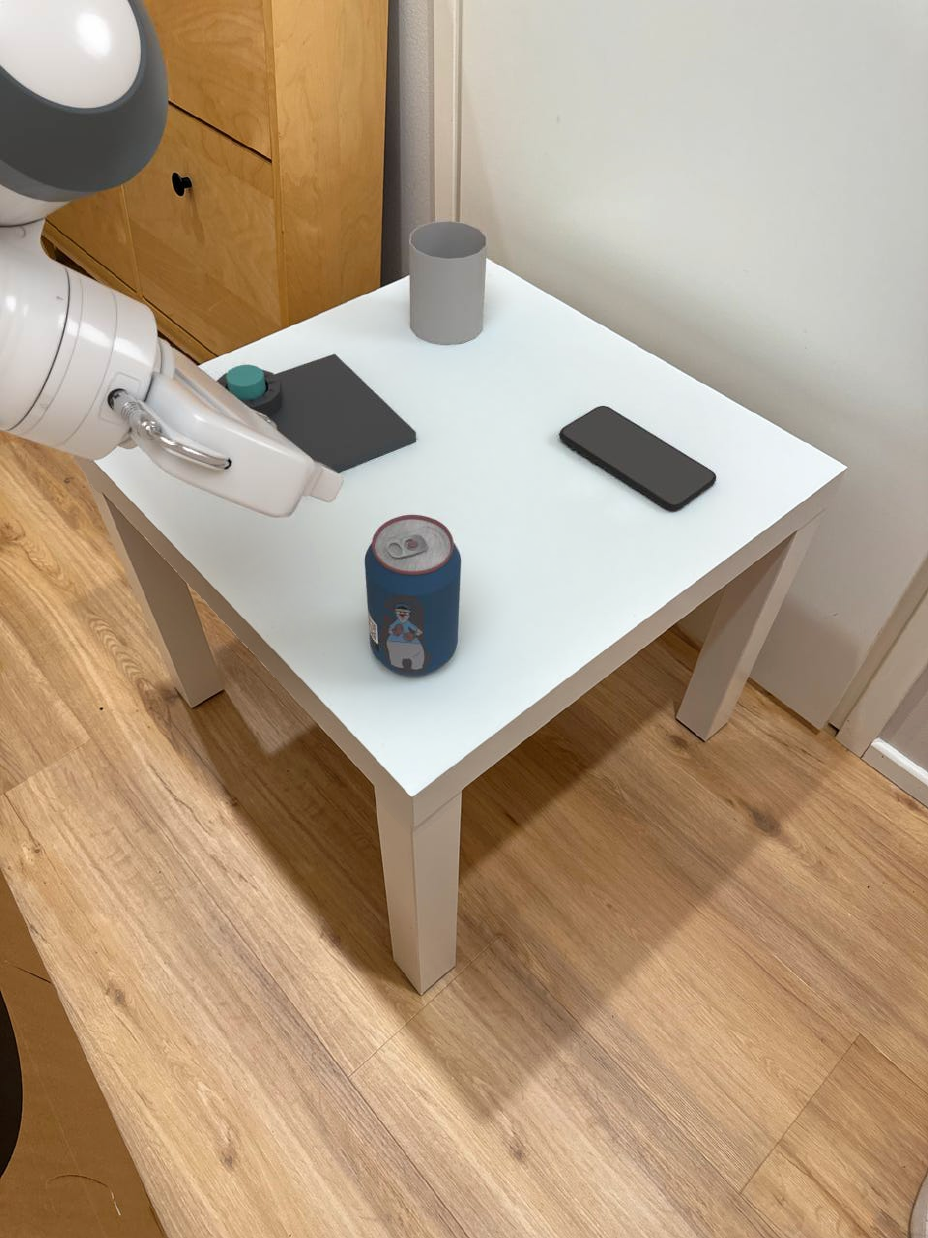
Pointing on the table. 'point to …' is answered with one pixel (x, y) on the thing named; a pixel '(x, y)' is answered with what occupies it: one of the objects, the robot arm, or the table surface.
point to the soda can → (413, 594)
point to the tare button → (246, 382)
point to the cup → (447, 281)
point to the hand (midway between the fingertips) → (299, 458)
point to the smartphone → (638, 457)
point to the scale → (330, 413)
